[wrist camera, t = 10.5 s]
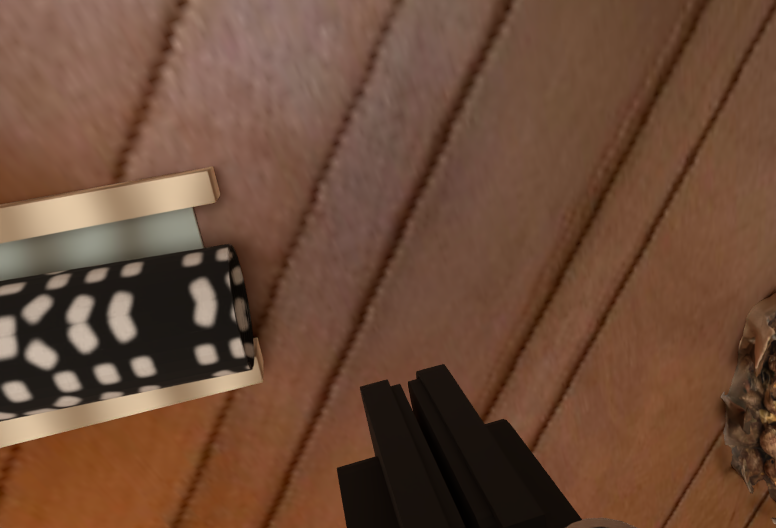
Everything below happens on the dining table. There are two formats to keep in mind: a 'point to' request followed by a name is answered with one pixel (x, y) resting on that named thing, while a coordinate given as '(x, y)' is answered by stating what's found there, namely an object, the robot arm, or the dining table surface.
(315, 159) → the dining table surface
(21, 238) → the open-ended tray
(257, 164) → the dining table surface
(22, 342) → the spotted tube
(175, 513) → the dining table surface
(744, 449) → the food dish
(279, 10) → the dining table surface
